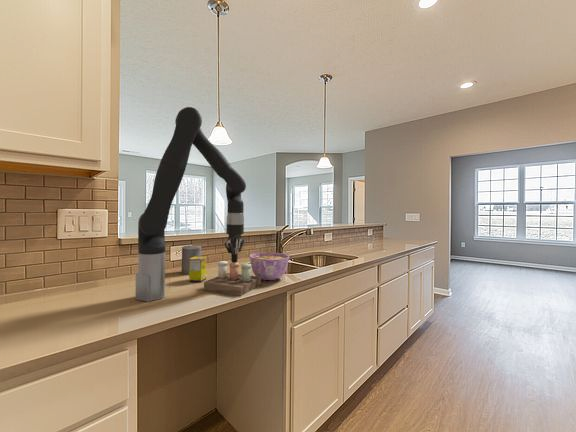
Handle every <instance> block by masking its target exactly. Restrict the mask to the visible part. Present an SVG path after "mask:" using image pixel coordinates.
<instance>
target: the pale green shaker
mask: <svg viewBox="0 0 576 432" xmlns="http://www.w3.org/2000/svg"><path fill="white" fill-rule="evenodd" d="M240 268H241V274H242V280H241V281H242V282H249V281H250V276H251V274H252V273H251V272H252V271H251V270H252V266H251V263H241V264H240Z"/></svg>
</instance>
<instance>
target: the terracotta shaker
mask: <svg viewBox="0 0 576 432" xmlns="http://www.w3.org/2000/svg"><path fill="white" fill-rule="evenodd" d="M228 266H229V273H230V280H238V274H239V270H240V269H239V267H240V262H238V261H237V262H236V263H232V262H228Z"/></svg>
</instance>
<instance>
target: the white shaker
mask: <svg viewBox="0 0 576 432" xmlns="http://www.w3.org/2000/svg"><path fill="white" fill-rule="evenodd" d="M217 265H218V266H217V267H218V269H217V277H218V278H220V279H224V278H227V273H228V265H229V262H228V261H227V260H226V261H225V260H220V261H217Z"/></svg>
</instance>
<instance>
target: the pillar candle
mask: <svg viewBox="0 0 576 432" xmlns="http://www.w3.org/2000/svg"><path fill="white" fill-rule="evenodd" d="M193 257H202V246H201V245H193V244H191V245H184V246H182V247H181V274H183V275H189V260H190V258H193Z"/></svg>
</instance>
